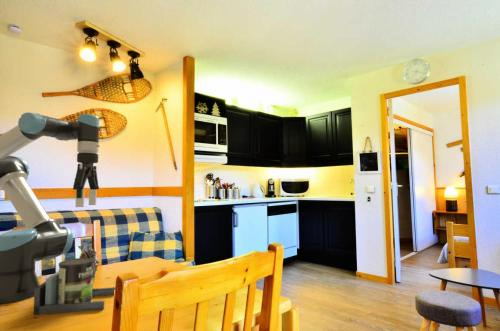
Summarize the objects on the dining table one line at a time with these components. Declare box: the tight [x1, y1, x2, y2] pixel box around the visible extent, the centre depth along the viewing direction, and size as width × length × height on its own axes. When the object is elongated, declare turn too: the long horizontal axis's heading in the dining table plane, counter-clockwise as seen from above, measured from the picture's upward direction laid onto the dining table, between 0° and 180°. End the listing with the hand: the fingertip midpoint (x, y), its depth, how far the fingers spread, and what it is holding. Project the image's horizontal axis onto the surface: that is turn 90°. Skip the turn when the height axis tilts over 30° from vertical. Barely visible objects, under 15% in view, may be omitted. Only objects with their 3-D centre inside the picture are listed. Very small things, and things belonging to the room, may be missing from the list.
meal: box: [77, 245, 99, 282], centre depth 128 cm, size 15×4×13 cm, turn 52°
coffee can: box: [58, 257, 95, 304], centre depth 100 cm, size 10×10×14 cm
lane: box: [33, 281, 116, 316], centre depth 100 cm, size 20×14×8 cm
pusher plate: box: [45, 270, 59, 305], centre depth 98 cm, size 2×11×10 cm, turn 10°
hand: (86, 206), depth 118 cm, fingers open, 13 cm apart
